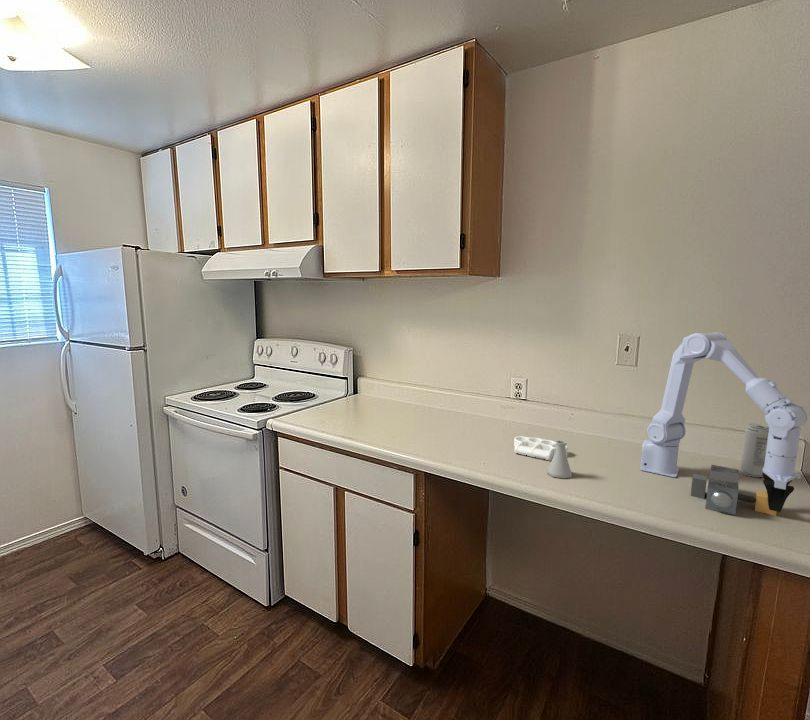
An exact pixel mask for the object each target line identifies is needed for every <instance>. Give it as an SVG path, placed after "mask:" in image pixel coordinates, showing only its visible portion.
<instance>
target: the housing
mask: <svg viewBox="0 0 810 720" xmlns="http://www.w3.org/2000/svg"><path fill="white" fill-rule="evenodd" d="M739 472H740V471H739V469H737V468H736V469H735V468H731V467H727V466H722V465H716V464H711V467H710V472H709V478H708V483H707V489H706V490H707V493H706V500H705V501H706V502H705V509H707V510H712V511H715V512H719V513H724V514H727V515H731V516H736V512H737V504H738V500H737V498H738V493H739V483H740V482H739Z"/></svg>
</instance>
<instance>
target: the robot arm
mask: <svg viewBox="0 0 810 720" xmlns="http://www.w3.org/2000/svg"><path fill="white" fill-rule="evenodd" d="M703 359H707V360H713V361H717V362H720V363H722V364H724V365H725V367H727V368H728V369H729V370H730V371H731V372H732V373H733V374H734V376H736V377H737V378H738V379H739V380H740V381H741V382H742V383H743V384H744V385H745V387H744V388H745V390H744V392H745V394H746V395H747V396H748V397H749V398H750V399H751V400H752V402H754V404H756V406H757V407H758V408H759V409H760V410H761V411H762V412H763V413H764V414H765V415H764V420H765V422H766V424H767V426H768V427H769V433H768V440H767V448H766V456H765V463H764V467H763V470H762V471H763V473H762V475H763V477H762V478H763V480H762V482H763V485H764V487H765V490H766V492H767V494H768V506H769V510H773V511H777V512H778V513H780V512H781V511H782V510H783V507H784V505H785V502H786V501H787V499H788V497H789V496H790V495H791V494H792V493H793V492H794V491H795V487H794V486H793V485H790V483H791V482H792V481H793V480H795V479H797V480H799V479H801V478H802V475H801V473H797V472H796V466H797V460H798V453H799V452H798V451H799V445H800V436H801V431H802V430H801V427H802V426H804V425H805V424H806V423H807V422H808V421H807V420H808V414H807V412H806V410H805V409H804V407H803V406H801V405H800V404H798V403H793V400H792V399H791V398H788V397H786V395H785V394H784V393H783V392H782V391H781V390H780V389H779V388H778V386H779V384H777V382H776V381H774V380H773V381H772V380H770V379H769V378H764V377H760V376H759V375H758V374H757V372H755V370H754V369H753V368H752V367H751V366H750V365H749V363H748V362H747V361H746V359H744V357H743V356H742V355H741V354H740V353H739V352H738V350H737V349H736V347H735V346H734V343H733V342H732V341H731V340H729V339H728V338H727V337H726V336H725V334H724V333H721V332H717V331H714V332H706V333H705V332H703V333H699V332H695V333H691V334H689V335H688V336H685V337H683V338H682V342H681V343H680V345H679V346H678V347H677V348H676V349H675V351H674V352H673V354H672V358H671V363H670V367H669V370H668V371H669V372H668V374H667V375H668V376H667V380H666V383H665V388H664V393H663V399H662V403H661V407H660V410H659V411H658V412H657V413H656V414H655V415H653V416H652V420H651V422H650V424H649V425H648V426H647V427H646V428H647V429H646V433H647V434H646V435H647V436H648V438H649V439H643V443H642V448H641V459H640V469H639V470H640V471H644V472H647V473H653V474H657V475H661V476H666V477H670V478H671V477H672V478H677V476H678V474H679V471H680V468H679V467H678V460H679V458H678V457H679V449H680V443H681V439H683V438H684V437H685V436H686V426H685V424H686V423H685V422H686V418H685V417H684V415H683V412H684V406H685V402H686V399H687V393H688V389H689V384H690V382H691V381H690V380H691V376H692V373H693V372H692V371H693V369H694V364H695V363H697V362H699V361H701V360H703Z"/></svg>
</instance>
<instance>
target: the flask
mask: <svg viewBox="0 0 810 720" xmlns="http://www.w3.org/2000/svg"><path fill="white" fill-rule="evenodd" d="M555 442H556V444H557V447H556V451H555V454H554V457H553V458H552V459H551V460H550V464H549V465H548V468H547V471H546V474H547V473H548V474H547V475H548V476H551V478H556V479H568V478H569V479H570V478H573V477H572V476H573V474H572V470H571V468H570V467H571V466H570V464H569V461H568V455H567V456H566V449H565V448H566V445H567V446H568V442H567V441H565V440H561V439H560V440H555Z"/></svg>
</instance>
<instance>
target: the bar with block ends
mask: <svg viewBox="0 0 810 720" xmlns="http://www.w3.org/2000/svg"><path fill="white" fill-rule="evenodd" d="M691 479H692V480H691V488H690V497H695V498H699V499H705V496H706V490H707V489H706V487H707V479H708V475H702V474H697V473H693V475H692V478H691ZM755 492H756V493H755V496H753V495H749V494H746V493H740V492H738V498H737V501H740V502H744V503H749V504H754V511H755V512H758V513H762V514H767V515H771V516H777V512H778V511H773V510H769V506H768V494H767V491H763V490H759V489H758V490H756V491H755Z"/></svg>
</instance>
